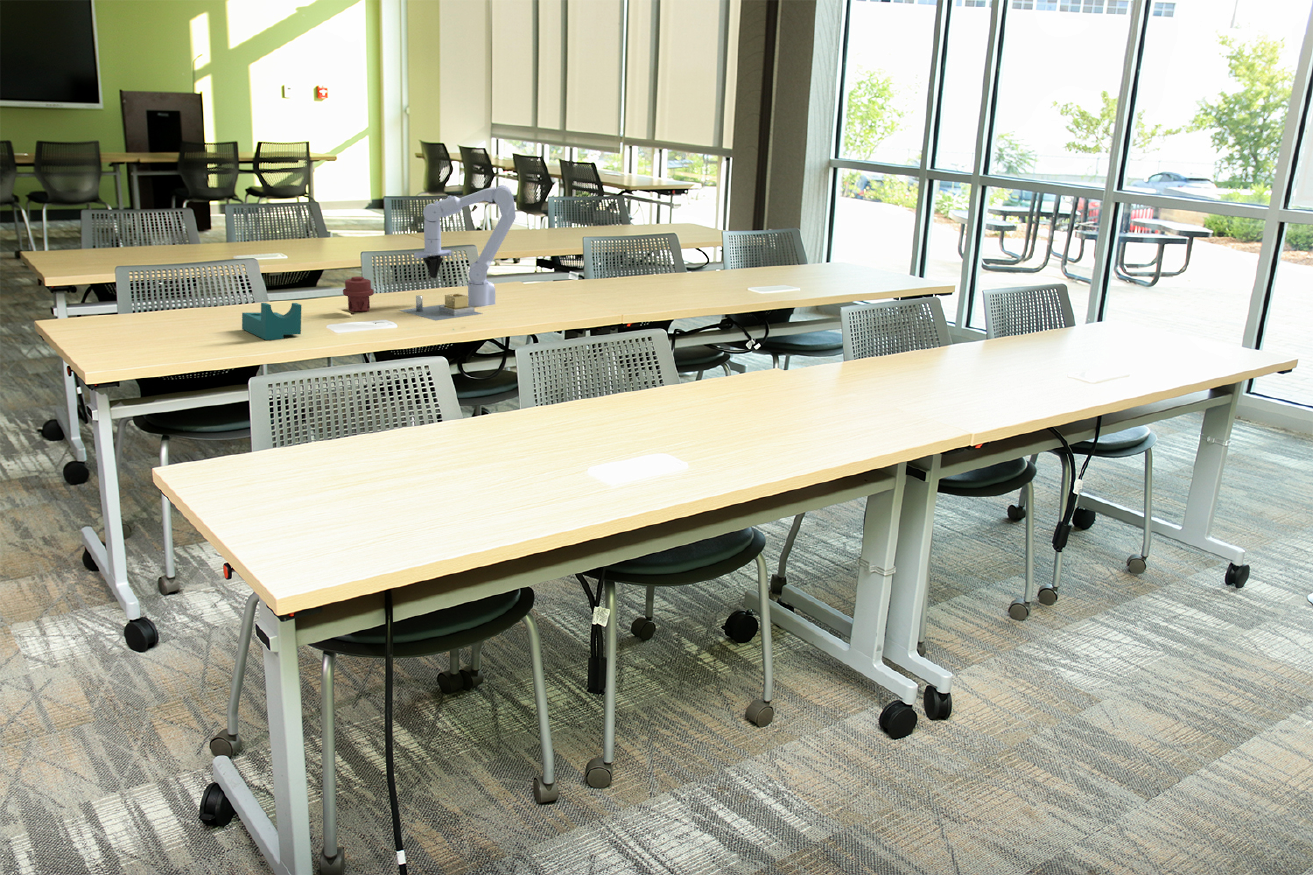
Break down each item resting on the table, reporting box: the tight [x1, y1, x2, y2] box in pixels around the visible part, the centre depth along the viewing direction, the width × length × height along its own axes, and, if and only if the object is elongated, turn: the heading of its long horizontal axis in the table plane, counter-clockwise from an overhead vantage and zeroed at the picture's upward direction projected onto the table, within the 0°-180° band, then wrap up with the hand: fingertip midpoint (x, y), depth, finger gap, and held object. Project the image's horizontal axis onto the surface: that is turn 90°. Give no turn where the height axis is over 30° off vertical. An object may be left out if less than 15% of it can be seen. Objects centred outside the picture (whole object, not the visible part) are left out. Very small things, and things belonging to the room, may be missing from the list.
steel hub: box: [439, 304, 476, 316], centre depth 348 cm, size 9×9×5 cm
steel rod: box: [415, 295, 424, 312], centre depth 348 cm, size 2×2×5 cm
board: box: [398, 303, 484, 321], centre depth 349 cm, size 20×21×1 cm
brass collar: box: [444, 293, 469, 309], centre depth 348 cm, size 6×6×5 cm
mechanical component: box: [342, 276, 375, 316], centre depth 343 cm, size 12×10×10 cm
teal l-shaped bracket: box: [241, 302, 302, 341], centre depth 309 cm, size 18×11×10 cm, turn 42°
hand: (433, 277), depth 359 cm, fingers closed
